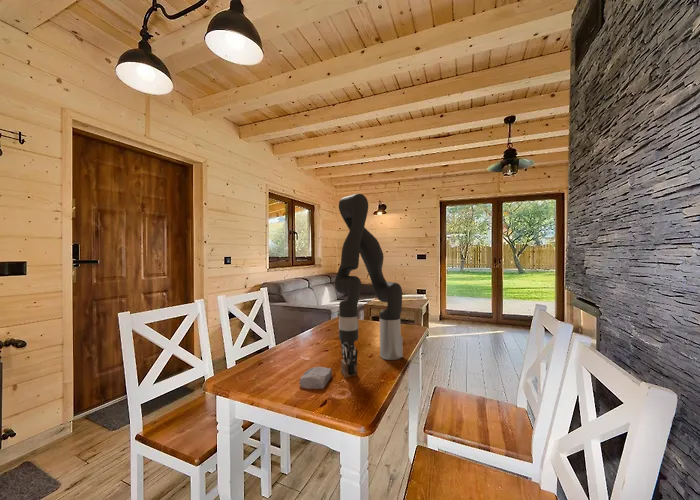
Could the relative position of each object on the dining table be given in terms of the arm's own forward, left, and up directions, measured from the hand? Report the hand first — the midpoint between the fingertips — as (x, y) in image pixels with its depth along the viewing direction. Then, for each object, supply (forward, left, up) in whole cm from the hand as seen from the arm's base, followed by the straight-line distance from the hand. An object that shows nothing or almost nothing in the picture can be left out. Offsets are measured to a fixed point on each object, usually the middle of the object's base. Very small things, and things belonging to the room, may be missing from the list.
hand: (349, 371), depth 110 cm
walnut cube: (0, 0, -1) cm, 1 cm away
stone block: (+14, +2, -1) cm, 14 cm away
